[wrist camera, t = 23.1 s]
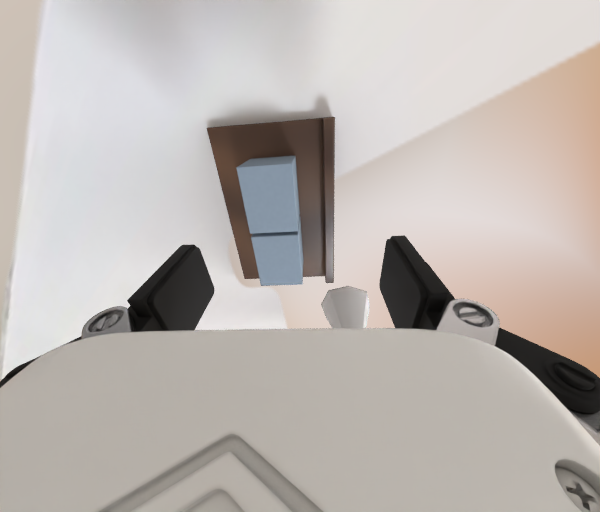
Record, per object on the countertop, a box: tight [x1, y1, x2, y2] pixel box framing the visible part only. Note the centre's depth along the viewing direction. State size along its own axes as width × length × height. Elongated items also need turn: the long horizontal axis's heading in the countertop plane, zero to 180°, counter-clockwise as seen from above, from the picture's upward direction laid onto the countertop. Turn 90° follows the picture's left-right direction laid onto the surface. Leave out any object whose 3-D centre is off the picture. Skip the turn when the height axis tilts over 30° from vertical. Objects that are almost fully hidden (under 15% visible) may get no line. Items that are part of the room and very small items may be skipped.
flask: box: [321, 286, 370, 328], centre depth 29 cm, size 7×7×10 cm
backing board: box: [207, 117, 335, 283], centre depth 25 cm, size 18×12×2 cm, turn 4°
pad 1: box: [236, 156, 300, 234], centre depth 21 cm, size 6×5×5 cm
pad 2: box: [251, 216, 303, 286], centre depth 25 cm, size 6×5×5 cm
